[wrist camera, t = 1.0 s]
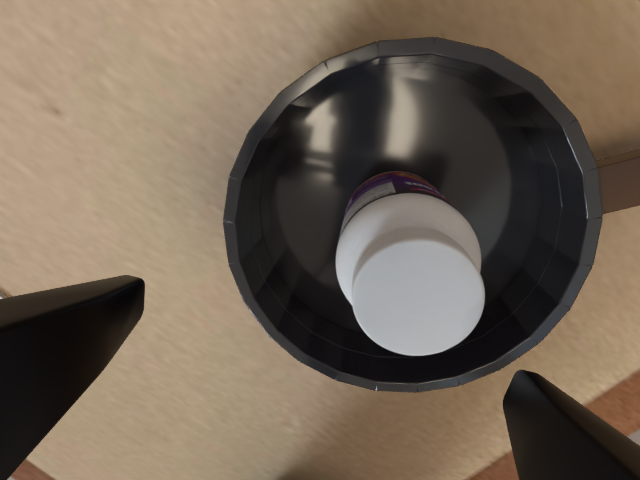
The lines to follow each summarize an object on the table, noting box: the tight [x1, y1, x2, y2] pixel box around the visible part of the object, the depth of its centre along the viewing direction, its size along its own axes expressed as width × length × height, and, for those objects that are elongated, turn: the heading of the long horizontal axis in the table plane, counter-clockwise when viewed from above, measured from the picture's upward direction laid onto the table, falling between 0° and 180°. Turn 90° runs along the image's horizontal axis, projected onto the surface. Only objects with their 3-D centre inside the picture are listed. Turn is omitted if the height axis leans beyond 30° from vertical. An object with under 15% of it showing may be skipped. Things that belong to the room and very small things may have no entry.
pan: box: [223, 37, 603, 393], centre depth 18 cm, size 16×16×4 cm
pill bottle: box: [336, 171, 485, 356], centre depth 16 cm, size 5×5×10 cm
